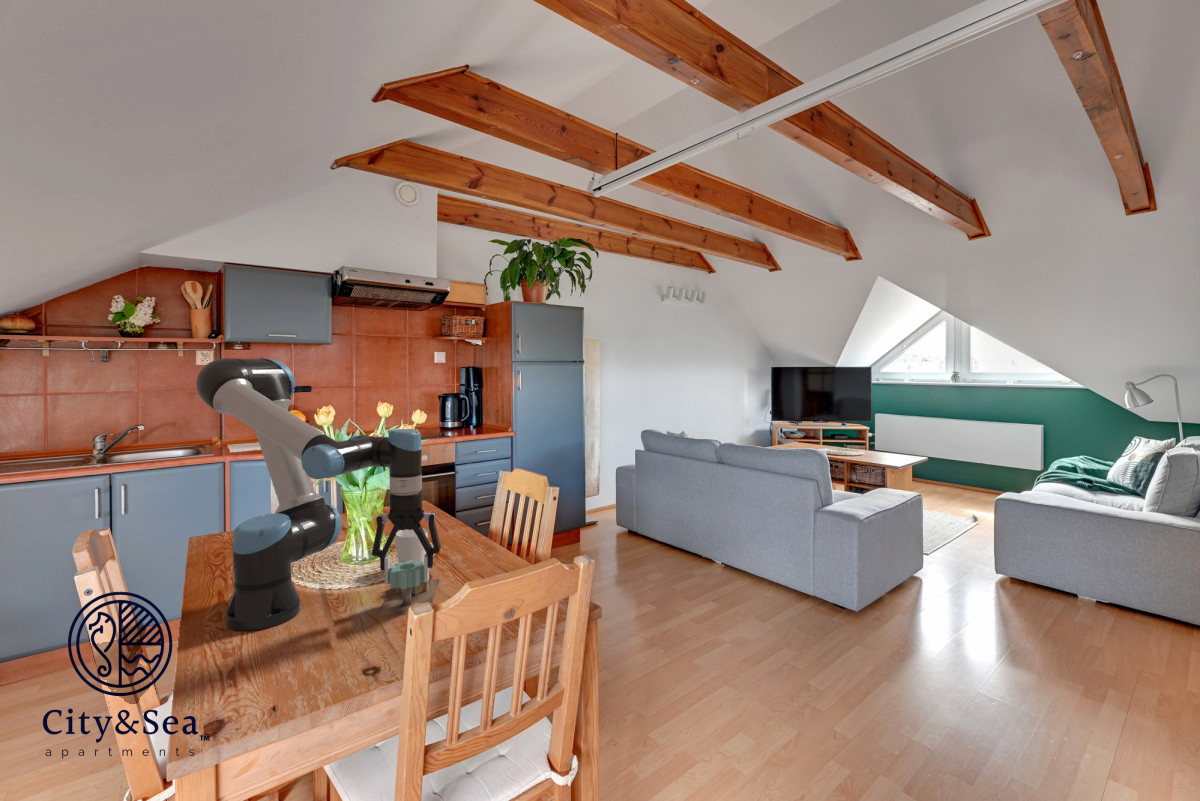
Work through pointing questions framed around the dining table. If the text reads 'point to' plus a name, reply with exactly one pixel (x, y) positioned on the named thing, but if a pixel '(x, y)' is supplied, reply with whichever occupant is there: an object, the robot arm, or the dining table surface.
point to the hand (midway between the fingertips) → (407, 581)
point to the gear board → (398, 600)
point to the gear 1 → (406, 574)
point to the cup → (409, 546)
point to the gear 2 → (417, 588)
